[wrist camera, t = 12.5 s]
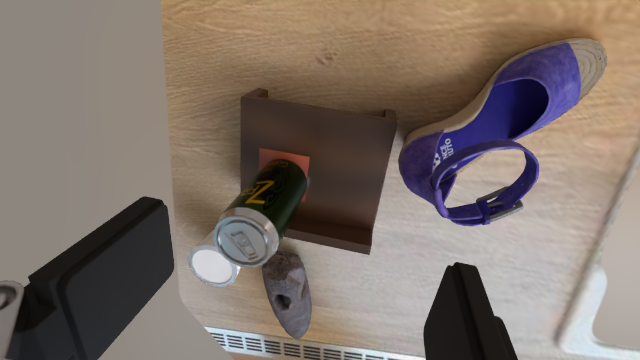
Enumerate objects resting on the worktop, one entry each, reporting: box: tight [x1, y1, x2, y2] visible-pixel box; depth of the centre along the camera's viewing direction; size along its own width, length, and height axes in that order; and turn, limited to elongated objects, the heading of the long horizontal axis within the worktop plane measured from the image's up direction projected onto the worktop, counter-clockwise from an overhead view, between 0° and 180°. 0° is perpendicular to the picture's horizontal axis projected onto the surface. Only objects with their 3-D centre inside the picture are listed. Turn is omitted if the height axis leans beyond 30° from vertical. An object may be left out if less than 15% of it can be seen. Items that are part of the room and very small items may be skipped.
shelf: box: [241, 88, 397, 255], centre depth 36 cm, size 14×16×8 cm
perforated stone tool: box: [262, 251, 312, 339], centre depth 46 cm, size 15×5×7 cm, turn 9°
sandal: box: [398, 38, 607, 226], centre depth 27 cm, size 8×20×15 cm, turn 115°
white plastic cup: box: [188, 230, 241, 287], centre depth 45 cm, size 7×7×7 cm
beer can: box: [213, 159, 307, 268], centre depth 31 cm, size 5×5×12 cm
